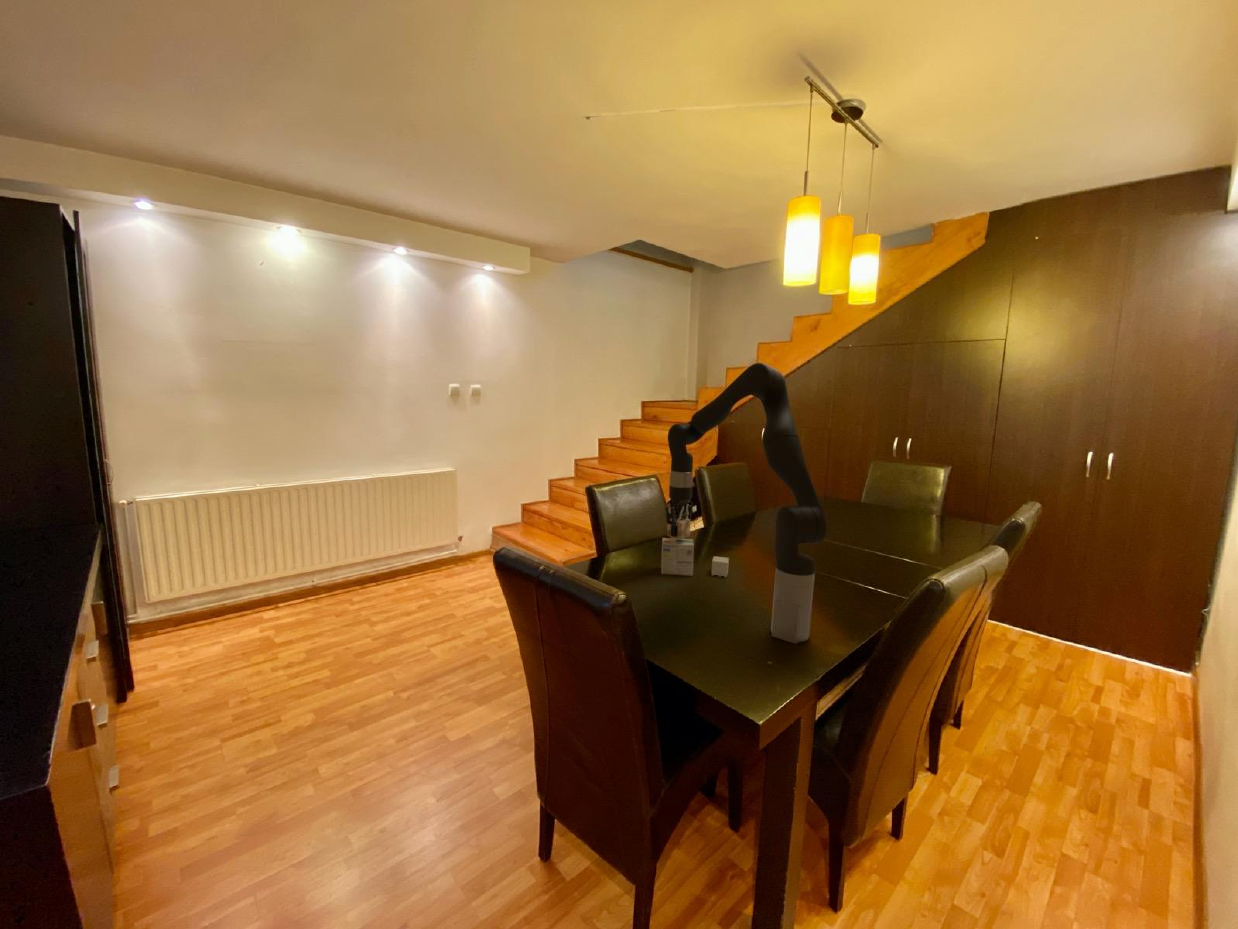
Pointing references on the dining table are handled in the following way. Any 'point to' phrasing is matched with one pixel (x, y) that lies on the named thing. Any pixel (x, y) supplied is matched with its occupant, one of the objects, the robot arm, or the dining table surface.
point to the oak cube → (680, 528)
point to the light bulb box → (677, 556)
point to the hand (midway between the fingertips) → (678, 534)
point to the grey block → (720, 566)
